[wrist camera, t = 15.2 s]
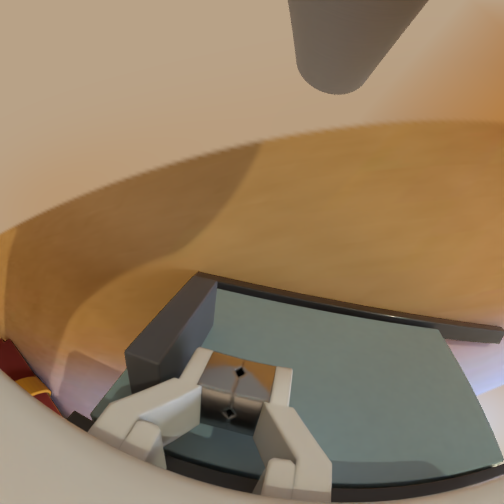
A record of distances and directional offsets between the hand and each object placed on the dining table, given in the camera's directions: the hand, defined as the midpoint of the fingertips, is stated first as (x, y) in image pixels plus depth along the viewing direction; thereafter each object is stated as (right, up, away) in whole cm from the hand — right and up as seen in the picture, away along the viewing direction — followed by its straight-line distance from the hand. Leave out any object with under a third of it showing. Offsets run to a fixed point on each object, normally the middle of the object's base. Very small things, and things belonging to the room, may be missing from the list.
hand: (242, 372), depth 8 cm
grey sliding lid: (+5, +1, +8) cm, 9 cm away
